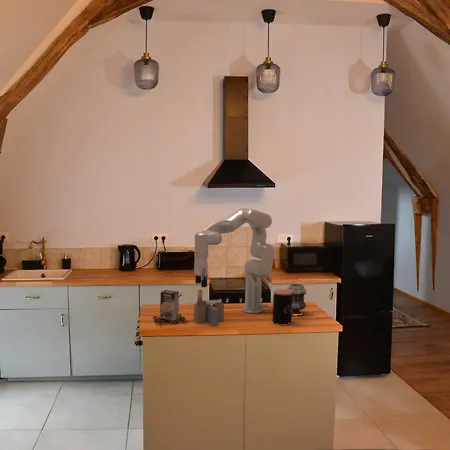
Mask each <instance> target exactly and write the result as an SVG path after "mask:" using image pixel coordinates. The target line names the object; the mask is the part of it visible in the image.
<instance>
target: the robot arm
mask: <svg viewBox="0 0 450 450" xmlns="http://www.w3.org/2000/svg"><path fill="white" fill-rule="evenodd" d="M272 222H273V219H272V216H271V215H269V214H268V213H265V212H263V211H259V210H257V209H253V208H240V209H238V210H236V211H235V212H233V213H232V214H231V215H229V216H228V217H226V218H224V219H221V220H220V221H218V222H217V221H216V222H214V223H212V224H210V225H209V226H207V227H205V228H203V230H201V232H195V234H194V265H193V266H194V267H193V271H194V274H195V280H194V281H195V284H197V285H198V284H200V286H201V288H207V287H208V275H209V274H208V271H209V270H208V269H209V266H208V259H209V246H218V245H219V244H221V243H222V242H223V236H222V234H230V233H232V232H235V231H236V230H237V229H239V228H240V227H241V226H243V225H244V224H248V225H249V227H250V228H251V230H252V235H251V236H252V237H251V243H250V249H249V254H250V255H251V256H252V257H254V258H256V259H253V258H252V259H248V260H247V261H246V262H245V264H244V274H245V291H244V292H245V293H244V295H245V296H244V307H242V308H241V310H242V312H244V313H248V314H261V313H263V312H264V311H263V309H264V308H268V304H267V303H266V304H265V303H262V302H261V300H262V299H261V298H262V279H261V278H268V277H269V276H270V275H271V274H272V269H273V265H274V258H275V248H274V246H273V245H272V244H271V243H267V236H268V235H267V230H266V229H268V228H269V227H271V225H272ZM257 258H258V259H257ZM259 259H260V260H259ZM260 312H261V313H260Z"/></svg>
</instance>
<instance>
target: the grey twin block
mask: <svg viewBox="0 0 450 450" xmlns="http://www.w3.org/2000/svg"><path fill="white" fill-rule="evenodd" d="M224 310H225V303H223V302H221V304H206V300H202V301H198V300H196V303H194V305H193V322H194V323H196V324H203V323H205V324H206V322H207V323H208V324H209V325H210V326H212V327H217V326H219V324H218V322H224V319H225V316H224V314H225V313H224V312H225V311H224Z"/></svg>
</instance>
